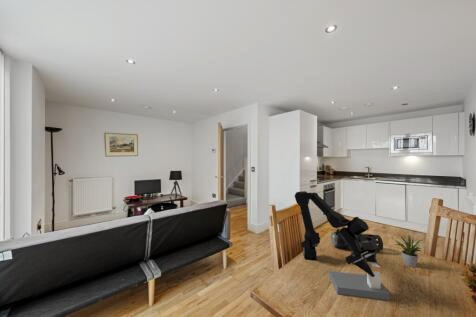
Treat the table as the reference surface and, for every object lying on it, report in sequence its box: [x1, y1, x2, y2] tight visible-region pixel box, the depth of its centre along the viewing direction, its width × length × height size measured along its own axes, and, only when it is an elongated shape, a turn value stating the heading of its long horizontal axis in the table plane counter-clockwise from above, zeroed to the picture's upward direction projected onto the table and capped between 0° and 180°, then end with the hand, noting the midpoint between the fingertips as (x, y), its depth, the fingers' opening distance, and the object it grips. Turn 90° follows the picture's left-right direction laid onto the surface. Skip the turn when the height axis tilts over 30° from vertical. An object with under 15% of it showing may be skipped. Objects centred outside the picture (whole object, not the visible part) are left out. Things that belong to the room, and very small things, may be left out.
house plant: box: [392, 234, 426, 268], centre depth 104 cm, size 14×14×16 cm
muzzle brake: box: [330, 230, 384, 251], centre depth 122 cm, size 10×28×10 cm, turn 78°
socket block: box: [328, 270, 390, 301], centre depth 85 cm, size 20×12×3 cm, turn 79°
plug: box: [366, 262, 382, 289], centre depth 82 cm, size 4×4×11 cm
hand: (377, 274), depth 81 cm, fingers open, 5 cm apart
